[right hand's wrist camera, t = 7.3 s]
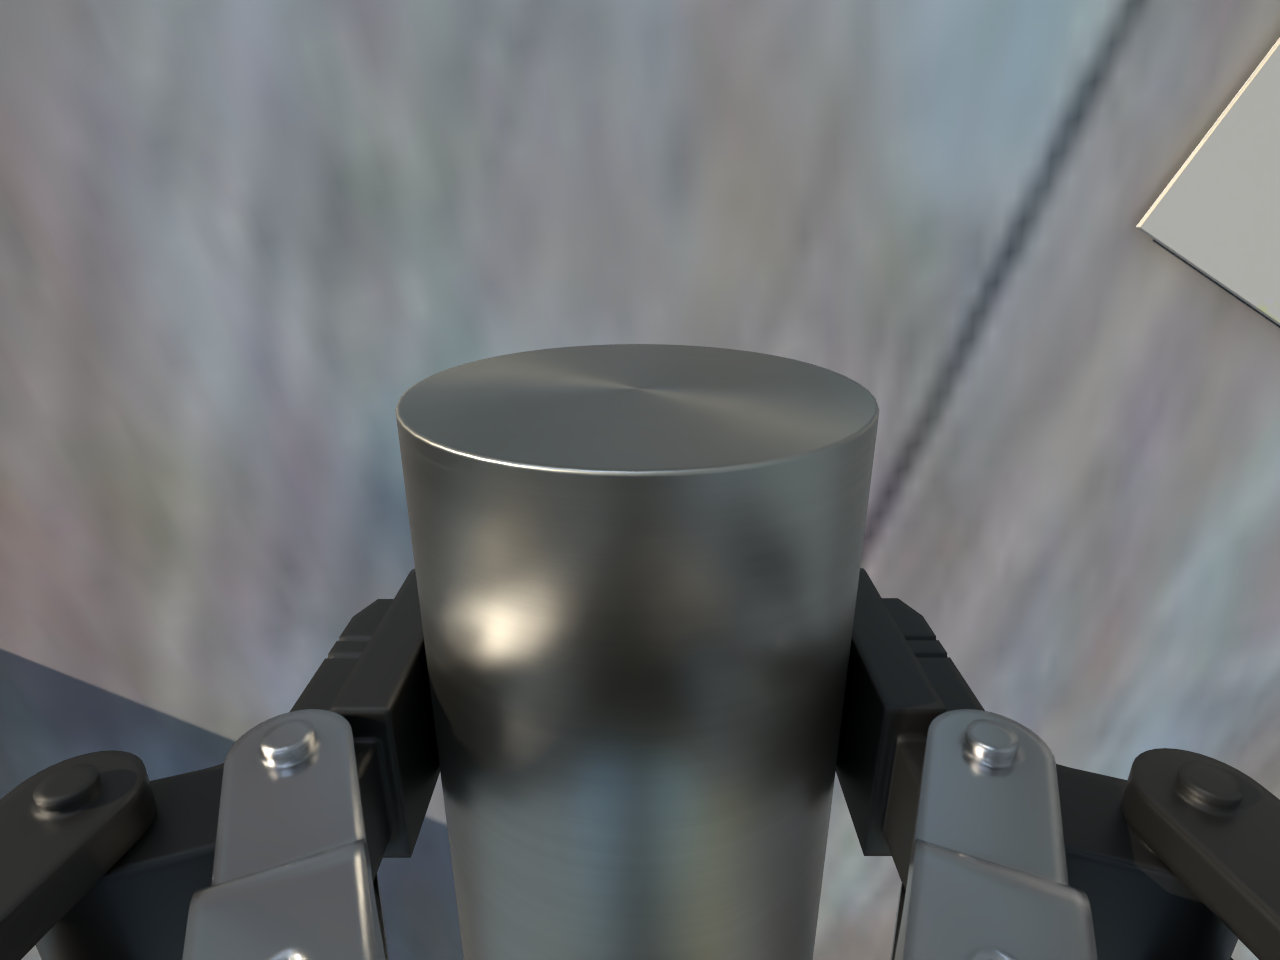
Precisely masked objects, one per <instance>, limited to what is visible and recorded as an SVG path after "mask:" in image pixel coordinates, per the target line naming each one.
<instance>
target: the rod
mask: <svg viewBox="0 0 1280 960" xmlns="http://www.w3.org/2000/svg"><path fill="white" fill-rule="evenodd" d="M878 416H879V408H878V405H877V402H876V399H875V397H874V396H873V395H872V394H871V393H870V392H869V391H868V390H867V389H866V388H864V387H863V386H862V385H860V384H859V383H857V382H855V381H854V380H852V379H850V378H848V377H846V376H843V375H841V374H838V373H836V372H833V371H831V370H828V369H825V368H822V367H819V366H816V365H813V364H809V363H805V362H801V361H797V360H793V359H789V358H784V357H779V356H774V355H768V354H762V353H755V352H749V351H741V350H733V349H723V348H713V347H700V346H685V345H656V344H620V345H591V346H576V347H563V348H553V349H543V350H535V351H527V352H521V353H514V354H508V355H502V356H497V357H492V358H487V359H483V360H479V361H475V362H471V363H467V364H463V365H460V366H457V367H454V368H450V369H447V370H445V371H442V372H440V373H437V374H435V375H432V376H430V377H428V378H426V379H424V380H422V381H420V382H418V383H416V384H415V385H414V386H412V387H411V388H409V389H408V390H407V391H406V392H405V393H404V394H403V395H402V396H401V398H400V399H399V402H398V404H397V407H396V418H397V426H398V434H399V442H400V450H401V458H402V466H403V474H404V482H405V490H406V498H407V506H408V514H409V522H410V530H411V538H412V546H413V555H414V563H415V571H416V579H417V587H418V595H419V603H420V611H421V619H422V627H423V635H424V643H425V651H426V659H427V667H428V675H429V683H430V691H431V699H432V708H433V716H434V724H435V732H436V740H437V748H438V756H439V764H440V772H441V780H442V788H443V796H444V804H445V812H446V820H447V828H448V836H449V844H450V852H451V861H452V869H453V877H454V885H455V893H456V901H457V909H458V917H459V925H460V933H461V941H462V949H463V957H464V960H813V951H814V943H815V935H816V927H817V919H818V910H819V902H820V894H821V886H822V877H823V869H824V861H825V853H826V844H827V836H828V828H829V820H830V812H831V803H832V795H833V787H834V779H835V770H836V762H837V754H838V746H839V737H840V729H841V721H842V713H843V705H844V696H845V688H846V680H847V672H848V663H849V655H850V647H851V639H852V630H853V622H854V614H855V606H856V598H857V589H858V581H859V573H860V565H861V556H862V548H863V540H864V532H865V523H866V515H867V507H868V499H869V491H870V482H871V474H872V466H873V458H874V449H875V441H876V433H877V425H878Z"/></svg>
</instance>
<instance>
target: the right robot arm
mask: <svg viewBox="0 0 1280 960" xmlns="http://www.w3.org/2000/svg"><path fill="white" fill-rule="evenodd" d="M439 773H440V764H439V756H438V748H437V740H436V732H435V724H434V716H433V708H432V699H431V691H430V683H429V675H428V667H427V659H426V651H425V643H424V635H423V627H422V619H421V611H420V603H419V595H418V587H417V579H416V571H415V569H413V570H411V572H410V573H409V575H408V576H407V578H406V580H405V582H404V583H403V585H402V587H401V588H400V590H399V592H398V593H397V595H396V597H395V598H394V599H378V600H376V601H375V602H373V603H372V604H370V605H369V606H368V607H366V608H365V609H363V610H362V611H361V612H359V613H358V614H356V615H355V616H354V617H353V618H352V619H351V621H350V622H349V624H348V625H347V627H346V628H345V630H344V631H343V633H342V634H341V636H340V640H339V641H337V642H336V643H335V645H334V646H333V648H332V649H331V651H330V652H329V654H328V659H325V660H324V661H323V663H322V664H321V666H320V667H319V669H318V670H317V672H316V673H315V675H314V676H313V678H312V679H311V681H310V682H309V684H308V685H307V687H306V688H305V690H304V691H303V693H302V694H301V696H300V697H299V699H298V700H297V702H296V703H295V705H294V706H293V708H292V709H291V711H290V712H288V713H285V714H282V715H278V716H276V717H273V718H271V719H268V720H266V721H264V722H262V723H260V724H258V725H257V726H255V727H254V728H252V729H250V730H249V731H248V732H246V733H245V734H244V735H243V736H241V737H240V738H239V739H238V740H237V741H236V742H235V743H234V745H233V746H232V747H231V749H230V750H229V752H228V754H227V756H226V759H225V763H223V764H220V765H217V766H214V767H211V768H207V769H203V770H199V771H194V772H190V773H185V774H181V775H176V776H171V777H167V778H162V779H158V780H153V781H149V779H148V775H147V772H146V769H145V766H144V764H143V762H142V760H141V759H140V758H138V757H137V756H135V755H133V754H131V753H128V752H123V751H100V752H94V753H88V754H84V755H80V756H77V757H74V758H71V759H68V760H65V761H62V762H60V763H57V764H55V765H53V766H51V767H49V768H47V769H45V770H43V771H41V772H39V773H37V774H35V775H34V776H32V777H30V778H29V779H27V780H26V781H24V782H23V783H22V784H20V785H19V786H17V787H16V788H15V789H13V790H12V791H11V792H10V793H8V794H7V795H6V796H5V797H3V798H2V799H1V800H0V960H21V959H22V958H23V957H24V956H25V955H26V954H27V953H28V952H29V951H30V950H31V949H32V948H33V947H34V946H35V945H36V947H37V949H38V952H39V954H40V956H41V959H42V960H389V953H388V945H387V938H386V931H385V923H384V916H383V909H382V901H381V894H380V889H379V883H378V877H377V871H378V868H379V866H380V863H381V860H382V858H411V855H412V852H413V849H414V847H415V844H416V841H417V838H418V835H419V832H420V829H421V826H422V823H423V820H424V817H425V814H426V811H427V808H428V805H429V802H430V800H431V797H432V794H433V791H434V788H435V785H436V782H437V779H438V776H439ZM836 773H837V776H838V779H839V782H840V785H841V788H842V791H843V794H844V797H845V800H846V803H847V806H848V809H849V812H850V815H851V818H852V821H853V824H854V827H855V830H856V833H857V836H858V839H859V842H860V845H861V848H862V851H863V854H864V856H892V857H893V860H894V862H895V865H896V868H897V870H898V873H899V876H900V878H901V881H902V883H901V889H900V894H899V901H898V908H897V916H896V923H895V931H894V938H893V945H892V953H891V960H1233V959H1232V958H1231V955H1232V953H1233V950H1234V948H1235V946H1236V943H1237V941H1238V939H1239V940H1240V941H1241V942H1242V943H1243V944H1244V945H1245V946H1246V947H1247V948H1248V949H1249V950H1250V951H1251V952H1252V953H1253V954H1254V955H1255V956H1256V957H1257V958H1258V959H1259V960H1280V800H1279V799H1278V798H1277V797H1275V796H1274V795H1273V794H1272V793H1270V792H1269V791H1268V790H1267V789H1265V788H1264V787H1263V786H1261V785H1260V784H1259V783H1257V782H1256V781H1255V780H1253V779H1252V778H1250V777H1249V776H1247V775H1246V774H1244V773H1242V772H1241V771H1239V770H1237V769H1235V768H1233V767H1231V766H1229V765H1227V764H1225V763H1223V762H1220V761H1218V760H1216V759H1213V758H1210V757H1207V756H1204V755H1201V754H1198V753H1194V752H1190V751H1185V750H1179V749H1167V748H1163V749H1153V750H1149V751H1146V752H1143V753H1141V754H1140V755H1139V756H1137V757H1136V758H1135V760H1134V762H1133V764H1132V768H1131V771H1130V774H1129V777H1128V780H1123V779H1119V778H1114V777H1110V776H1105V775H1100V774H1096V773H1091V772H1087V771H1082V770H1078V769H1073V768H1069V767H1065V766H1062V765H1058V764H1056V763H1055V759H1054V756H1053V754H1052V752H1051V750H1050V749H1049V747H1048V746H1047V745H1046V743H1045V742H1044V741H1043V740H1042V739H1041V738H1040V737H1039V736H1037V735H1036V734H1035V733H1034V732H1032V731H1031V730H1030V729H1028V728H1026V727H1025V726H1023V725H1022V724H1020V723H1018V722H1016V721H1014V720H1012V719H1009V718H1007V717H1004V716H1002V715H998V714H995V713H992V712H987V711H985V710H984V709H983V707H982V706H981V704H980V703H979V701H978V700H977V698H976V697H975V695H974V693H973V692H972V690H971V689H970V687H969V686H968V684H967V683H966V681H965V680H964V678H963V677H962V675H961V674H960V672H959V671H958V669H957V668H956V666H955V665H954V663H953V662H952V660H951V658H947V652H946V651H945V649H944V648H943V646H942V645H941V643H940V642H939V640H936V636H935V634H934V633H933V631H932V630H931V628H930V627H929V625H928V623H927V622H926V620H925V619H924V617H923V616H922V615H921V614H919V613H918V612H916V611H915V610H914V609H912V608H911V607H909V606H908V605H907V604H905V603H904V602H902V601H901V600H899V599H898V598H881V596H880V595H879V593H878V591H877V590H876V588H875V586H874V584H873V583H872V581H871V579H870V578H869V576H868V574H867V572H866V571H865V570H864V569H863V568H860V573H859V581H858V589H857V598H856V606H855V614H854V622H853V630H852V639H851V647H850V655H849V663H848V672H847V680H846V688H845V696H844V705H843V713H842V721H841V729H840V737H839V746H838V754H837V762H836Z"/></svg>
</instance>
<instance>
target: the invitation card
mask: <svg viewBox="0 0 1280 960" xmlns="http://www.w3.org/2000/svg"><path fill="white" fill-rule="evenodd" d="M1136 227H1137V228H1138V229H1140V230H1141V231H1143V232H1144V233H1145V234H1147V235H1148V236H1150V237H1151V238H1153V239H1154V240H1156V241H1157V242H1159V243H1160V244H1161V245H1163V246H1164V247H1166V248H1167V249H1169V250H1170V251H1172V252H1173V253H1175V254H1176V255H1177V256H1179V257H1180V258H1182V259H1183V260H1185V261H1186V262H1188V263H1189V264H1191V265H1192V266H1194V267H1195V268H1196V269H1198V270H1199V271H1201V272H1202V273H1204V274H1205V275H1207V276H1208V277H1210V278H1211V279H1212V280H1214V281H1215V282H1217V283H1218V284H1220V285H1221V286H1223V287H1224V288H1226V289H1227V290H1228V291H1230V292H1231V293H1233V294H1234V295H1236V296H1237V297H1239V298H1240V299H1242V300H1243V301H1245V302H1246V303H1247V304H1249V305H1250V306H1252V307H1253V308H1255V309H1256V310H1258V311H1259V312H1261V313H1262V314H1263V315H1265V316H1266V317H1268V318H1269V319H1271V320H1272V321H1274V322H1275V323H1277V324H1278V325H1280V38H1279V39H1278V40H1277V42H1276V43H1275V44H1274V46H1273V47H1272V48H1271V50H1270V51H1269V52H1268V54H1267V55H1266V56H1265V58H1264V59H1263V60H1262V62H1261V63H1260V64H1259V66H1258V67H1257V68H1256V69H1255V71H1254V72H1253V73H1252V75H1251V76H1250V77H1249V79H1248V80H1247V81H1246V83H1245V84H1244V85H1243V87H1242V88H1241V89H1240V91H1239V92H1238V93H1237V94H1236V96H1235V97H1234V98H1233V100H1232V101H1231V102H1230V104H1229V105H1228V106H1227V108H1226V109H1225V110H1224V112H1223V113H1222V114H1221V116H1220V117H1219V118H1218V119H1217V121H1216V122H1215V123H1214V125H1213V126H1212V127H1211V129H1210V130H1209V131H1208V133H1207V134H1206V135H1205V137H1204V138H1203V139H1202V141H1201V142H1200V143H1199V145H1198V146H1197V147H1196V148H1195V150H1194V151H1193V152H1192V154H1191V155H1190V156H1189V158H1188V159H1187V160H1186V162H1185V163H1184V164H1183V166H1182V167H1181V168H1180V170H1179V171H1178V172H1177V173H1176V175H1175V176H1174V177H1173V179H1172V180H1171V181H1170V183H1169V184H1168V185H1167V187H1166V188H1165V189H1164V191H1163V192H1162V193H1161V195H1160V196H1159V197H1158V199H1157V200H1156V201H1155V202H1154V204H1153V205H1152V206H1151V208H1150V209H1149V210H1148V212H1147V213H1146V214H1145V216H1144V217H1143V218H1142V220H1141V221H1140V222H1139V224H1138V225H1137V226H1136Z"/></svg>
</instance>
